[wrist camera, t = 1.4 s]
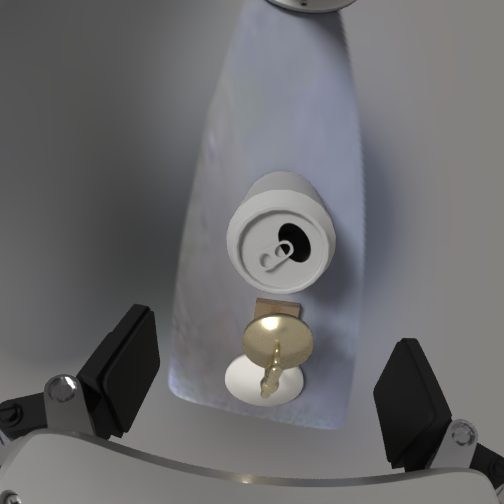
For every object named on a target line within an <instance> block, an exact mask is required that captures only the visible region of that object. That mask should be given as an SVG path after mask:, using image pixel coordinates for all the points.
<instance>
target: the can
mask: <svg viewBox="0 0 504 504" xmlns="http://www.w3.org/2000/svg"><path fill="white" fill-rule="evenodd" d="M226 237H227V248H228V254H229V256H230V258H231V261H232V263H233V265H234V267H235V268H236V269H237V271H238V272H239V273H240V275H241V276H242V277H243V278H244V279H245V280H246V281H247V282H248V283H249V284H250V285H252V286H254V287H255V288H257V289H259V290H260V291H264V292H267V293H271V294H292V293H295V292H299V291H302V290H304V289H306V288H307V287H309V286H310V285H312V284H313V283H315V282H316V280H317V279H319V278H320V276H321V275H322V274H323V273H324V272H325V270H326V269H327V268H328V267H329V265H330V263H331V260H332V258H333V255H334V253H335V241H336V234H335V231H334V228H333V224H332V221H331V218H330V216H329V214H328V212H327V210H326V208H325V207H324V205H323V203H322V201H321V199H320V197H319V195H318V193H317V191H316V190H315V189H314V187H313V186H312V185H311V183H310V182H309V181H308V180H306V179H305V178H303V177H302V176H300V175H298V174H295V173H292V172H288V171H276V172H272V173H270V174H267V175H264V176H262V177H261V178H260V179H259V180H257V181H256V182H255V183H254V184H253V185H252V187H251V188H250V190H249V191H248V193H247V195H246V196H245V198H244V199H243V201H242V203H241V204H240V206H239V208H238V209H237V211H236V212H235V214H234V216H233V217H232V219H231V221H230V224H229V228H228V232H227V236H226Z"/></svg>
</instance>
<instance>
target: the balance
mask: <svg viewBox="0 0 504 504" xmlns="http://www.w3.org/2000/svg"><path fill="white" fill-rule="evenodd" d="M299 310H300V303H293V302H285V301H277V300H269V299H262V298H257V300H256V307H255V315H254V320H253V321H251V322H250V323H249V324H248V325H247V327H246V328H245V330H244V333H243V337H242V349H243V352H244V353H245V355H246V356H247V358H248V359H249V360H250V361H251V362H253V363H254V364H256V365H258V366H260V367H262V368H265V370H264V377H263V378H262V379H261V381H260V387H261V389H262V390H261V393H260V395H261V397H262V398H264V399H267V398H268V397H269V396H270V395H271V393H274V392H275V391H277V389H278V388H279V381H278V380H279V378H280V376H281V374H282V373H283V370H287V369H291V368H294V367H297V366H299V365H300V364H302V363H303V362H305V361H306V360H307V359H308V358H309V356H310V355H311V353H312V351H313V347H314V341H313V334H312V331H311V329H310V328H309V326H308V325H307V324H306V323H305V322H304V321H303V320H301V319H300V318H298V315H299Z"/></svg>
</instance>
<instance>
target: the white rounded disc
mask: <svg viewBox="0 0 504 504" xmlns="http://www.w3.org/2000/svg"><path fill="white" fill-rule="evenodd" d="M264 370H265V368H262V367H260V366H258V365H256V364H254V363H253V362H251V361H250V360H249V359H248V358H247V356H246V355H245V353H244V354H241V355H239V356H237V357H236V358H234V359H233V360H232V361H231V362H230V364H229V365H228V367H227V371H226V375H225V383H226V386H227V388H228V390H229V391H230V392H231V393H232V394H233V395H234V396H235V397H237V398H238V399H240V400H242V401H244V402H246V403H249V404H252V405H257V406H276V405H281V404H284V403H287V402H289V401H291V400H293V399H294V398H295V397H297V396H298V395H299V393H300V392H301V390H302V388H303V372H302V370H301V368H300V366H297V367H294V368H291V369H287V370H283V373H282V374H281V376H280V378H279V380H278V381H279V388H278V389H277V391H275V392H274V393H271V395H270V396H269V397H268V398H267V399H264V398H262V397H261V395H260V393H261V390H262V389H261V387H260V381H261V379H262V378H263V377H264Z"/></svg>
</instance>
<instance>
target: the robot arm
mask: <svg viewBox="0 0 504 504" xmlns="http://www.w3.org/2000/svg"><path fill="white" fill-rule="evenodd" d="M268 1H270V2H271V3H274V4H276V5H278V6H281V7H283V8H287V9H290V10H294V11H300V12H306V13H324V12H332V11H336V10H340V9H343V8H345V7H347V6H349V5H351V4H352V3H353V2H355V1H356V0H268ZM302 5H306V6H302ZM159 367H160V357H159V350H158V343H157V335H156V326H155V317H154V312H153V311H150V308H149V307H148V306H143V305H139V304H134V305H133V306H132V307H131V308H130V310H129V311H128V312H127V313H126V315H125V316H124V317H123V318H122V320H121V321H120V322H119V324H118V325H117V326H116V327H115V329H114V330H113V331H112V332H110V333H109V334H108V335H107V336H106V337H105V338H104V340H103V341H102V342H101V344H100V345H99V346H98V348H97V349H96V350H95V351H94V353H93V354H92V355H91V357H90V358H89V359H88V361H87V362H86V363H85V365H84V366H83V368H82V369H81V370H80V371H79V373H78V374H77V376H76V377H74V376H72V375H69V374H59V375H56V376H54V377H52V378H50V379H49V380H48V381H47V382H46V384H45V387H44V392H42V393H38V394H34V395H29V396H25V397H20V398H16V399H11V400H7V401H4V402H2V403H1V404H0V504H504V458H503V457H502V456H500V455H498V454H496V453H495V452H493V451H491V450H489V449H488V448H486V447H484V446H483V445H481V444H479V443H477V441H478V433H477V430H476V428H475V427H474V426H473V425H472V423H470V422H469V421H467V420H463V419H457V420H454V421H453V422H452V419H451V416H452V414H451V411H450V409H449V407H448V404H447V402H446V400H445V397H444V395H443V393H442V390H441V388H440V386H439V384H438V381H437V379H436V377H435V375H434V373H433V371H432V368H431V366H430V365H429V363H428V360H427V358H426V356H425V354H424V352H423V350H422V348H421V346H420V344H419V342H418V340H417V339H415V338H403V339H401V341H400V342H397V344H396V345H395V348H394V350H393V352H392V354H391V356H390V358H389V360H388V362H387V364H386V366H385V369H384V370H383V372H382V374H381V376H380V378H379V380H378V382H377V384H376V386H375V388H374V391H373V395H374V400H375V404H376V408H377V413H378V417H379V421H380V426H381V431H382V436H383V440H384V445H385V450H386V456H387V460H388V462H391V466H392V469H396V468H402V467H404V469H405V473H398V474H390V475H381V476H371V477H361V478H343V479H298V478H279V477H266V476H257V475H247V474H241V473H234V472H227V471H221V470H215V469H210V468H204V467H199V466H195V465H190V464H186V463H182V462H178V461H174V460H170V459H166V458H163V457H159V456H156V455H152V454H149V453H145V452H141V451H139V450H135V449H132V448H129V447H126V446H123V445H120V444H117V443H114V442H112V441H108V439H109V438H110V436H111V435H113V436H116V437H119V438H121V437H122V435H123V433H124V432H125V433H127V432H128V431H129V430H130V428H131V426H132V423H133V421H134V419H135V417H136V415H137V413H138V411H139V409H140V407H141V405H142V402H143V400H144V398H145V396H146V394H147V392H148V390H149V388H150V386H151V384H152V382H153V380H154V378H155V376H156V374H157V372H158V370H159Z"/></svg>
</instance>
